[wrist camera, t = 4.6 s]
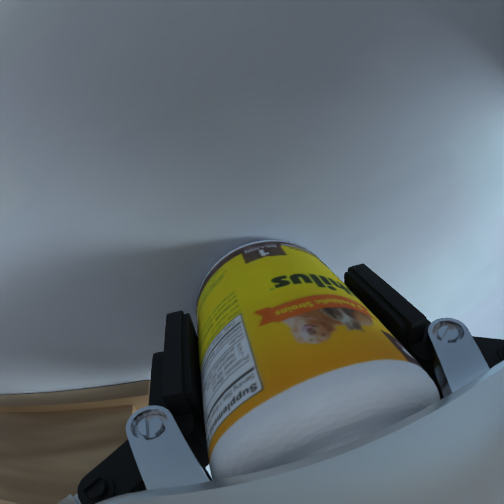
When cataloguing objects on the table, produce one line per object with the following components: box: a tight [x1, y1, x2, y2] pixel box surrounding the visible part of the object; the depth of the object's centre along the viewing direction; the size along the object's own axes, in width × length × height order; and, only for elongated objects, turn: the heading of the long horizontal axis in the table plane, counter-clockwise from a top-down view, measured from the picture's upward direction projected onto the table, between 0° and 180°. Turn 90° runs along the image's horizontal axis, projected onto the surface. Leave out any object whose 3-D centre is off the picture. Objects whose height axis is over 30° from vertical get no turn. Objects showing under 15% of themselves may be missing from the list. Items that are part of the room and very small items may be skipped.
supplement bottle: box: [196, 240, 440, 481], centre depth 8 cm, size 6×6×10 cm
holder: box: [0, 380, 150, 504], centre depth 12 cm, size 12×12×7 cm
